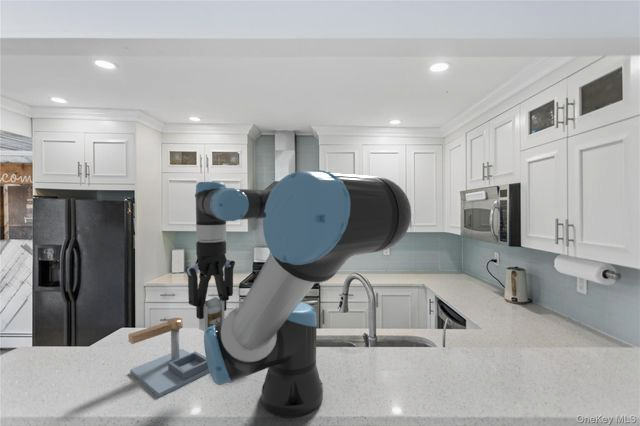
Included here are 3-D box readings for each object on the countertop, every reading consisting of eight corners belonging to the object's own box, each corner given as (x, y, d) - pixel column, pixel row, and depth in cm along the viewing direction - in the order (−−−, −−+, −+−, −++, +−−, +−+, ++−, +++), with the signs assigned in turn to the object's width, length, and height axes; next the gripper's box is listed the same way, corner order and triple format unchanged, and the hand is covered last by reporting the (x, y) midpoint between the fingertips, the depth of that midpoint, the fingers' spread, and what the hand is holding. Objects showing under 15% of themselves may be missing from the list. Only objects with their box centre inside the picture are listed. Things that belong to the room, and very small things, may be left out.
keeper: (178, 323, 93) (178, 316, 92) (185, 327, 90) (185, 320, 90) (127, 340, 81) (127, 332, 81) (133, 345, 79) (133, 336, 79)
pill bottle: (210, 332, 78) (210, 303, 78) (199, 328, 81) (199, 300, 80) (224, 326, 82) (223, 298, 82) (213, 322, 85) (213, 295, 84)
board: (213, 370, 86) (213, 335, 86) (159, 397, 74) (158, 357, 74) (182, 351, 96) (181, 321, 96) (130, 372, 85) (129, 337, 84)
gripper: (230, 236, 90) (230, 313, 91) (171, 242, 76) (172, 333, 77) (246, 238, 85) (247, 319, 86) (187, 245, 71) (188, 342, 72)
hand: (212, 326), depth 81 cm, fingers closed on pill bottle, 4 cm apart
